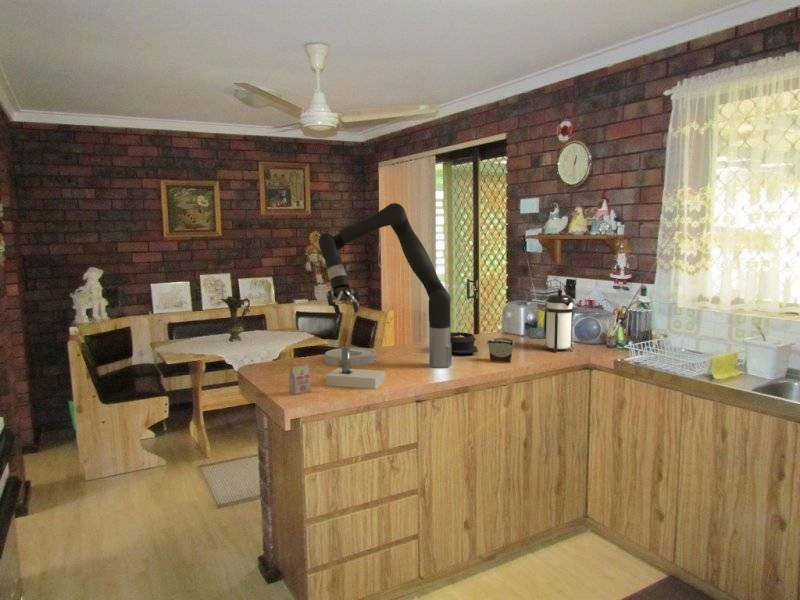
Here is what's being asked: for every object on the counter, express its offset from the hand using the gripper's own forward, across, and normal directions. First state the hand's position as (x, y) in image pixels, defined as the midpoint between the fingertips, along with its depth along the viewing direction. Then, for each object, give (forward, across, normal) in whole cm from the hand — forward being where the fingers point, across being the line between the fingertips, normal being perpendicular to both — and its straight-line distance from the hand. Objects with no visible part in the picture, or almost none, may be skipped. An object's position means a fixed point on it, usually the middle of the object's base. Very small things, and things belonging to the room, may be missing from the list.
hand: (347, 313), depth 239 cm
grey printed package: (+30, -32, -6) cm, 44 cm away
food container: (+35, +65, -10) cm, 74 cm away
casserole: (+22, +62, +14) cm, 68 cm away
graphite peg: (+29, -11, -3) cm, 31 cm away
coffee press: (+35, +104, -8) cm, 110 cm away
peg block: (+31, -8, -6) cm, 32 cm away
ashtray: (+15, +10, +27) cm, 32 cm away
